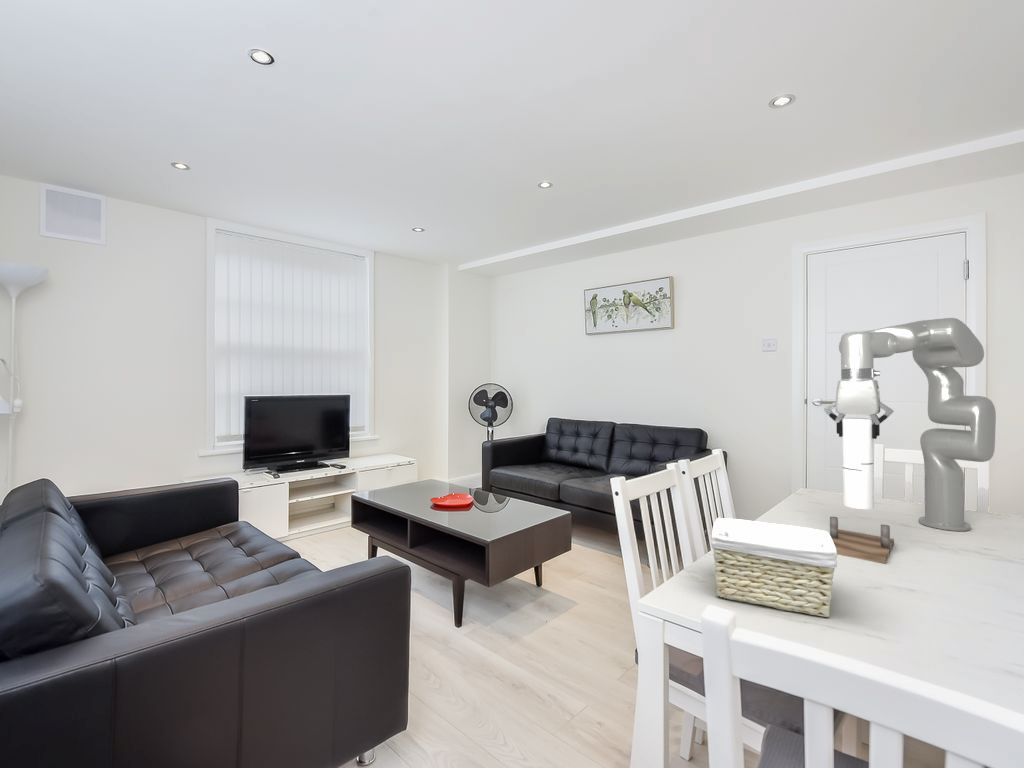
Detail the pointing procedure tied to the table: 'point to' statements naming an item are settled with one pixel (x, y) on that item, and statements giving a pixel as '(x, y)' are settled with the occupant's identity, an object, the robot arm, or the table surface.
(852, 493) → the cylindrical container
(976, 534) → the table surface
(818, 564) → the storage basket
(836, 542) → the board
